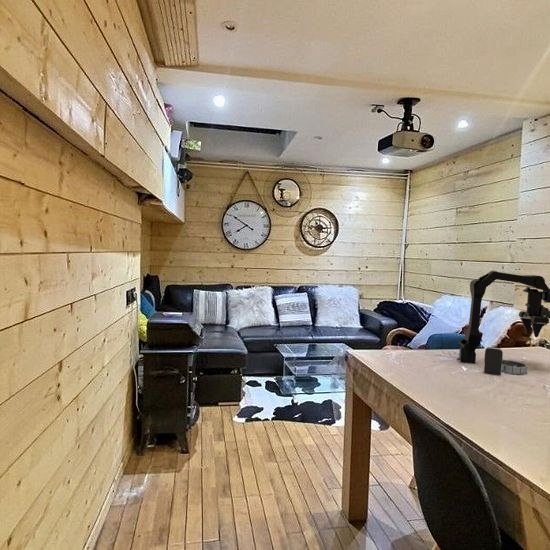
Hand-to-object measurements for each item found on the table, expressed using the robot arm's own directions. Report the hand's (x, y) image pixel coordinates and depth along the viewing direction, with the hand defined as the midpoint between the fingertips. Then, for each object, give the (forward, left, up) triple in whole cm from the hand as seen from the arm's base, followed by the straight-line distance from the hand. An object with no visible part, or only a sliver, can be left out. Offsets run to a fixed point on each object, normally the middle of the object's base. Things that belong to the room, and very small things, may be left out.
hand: (532, 335), depth 199 cm
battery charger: (-22, -18, -15) cm, 32 cm away
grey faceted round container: (-12, -11, -15) cm, 22 cm away
